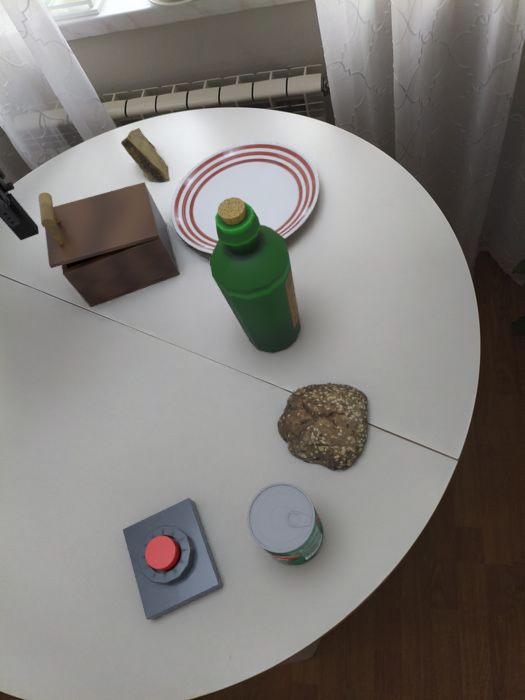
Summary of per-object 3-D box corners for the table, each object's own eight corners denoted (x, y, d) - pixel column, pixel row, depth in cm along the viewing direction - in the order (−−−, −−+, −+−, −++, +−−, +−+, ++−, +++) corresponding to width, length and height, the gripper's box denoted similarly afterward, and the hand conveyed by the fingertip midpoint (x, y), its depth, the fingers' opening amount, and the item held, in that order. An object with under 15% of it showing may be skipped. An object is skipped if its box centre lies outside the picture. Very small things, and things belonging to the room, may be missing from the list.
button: (146, 546, 72) (141, 543, 70) (174, 532, 72) (169, 530, 71) (155, 576, 70) (150, 574, 68) (183, 562, 70) (179, 560, 69)
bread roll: (376, 394, 80) (376, 379, 75) (358, 476, 74) (357, 466, 70) (291, 378, 83) (286, 363, 79) (269, 456, 78) (262, 444, 74)
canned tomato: (259, 561, 72) (240, 546, 62) (270, 500, 75) (253, 478, 66) (320, 571, 70) (309, 558, 60) (328, 508, 73) (319, 486, 64)
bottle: (320, 317, 88) (294, 189, 64) (283, 370, 84) (241, 257, 60) (265, 292, 92) (221, 164, 68) (228, 342, 89) (169, 225, 65)
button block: (128, 532, 77) (116, 526, 74) (194, 501, 77) (185, 494, 74) (152, 620, 71) (140, 618, 67) (223, 586, 71) (215, 582, 68)
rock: (128, 138, 115) (111, 168, 109) (140, 106, 108) (122, 136, 102) (176, 164, 117) (162, 195, 112) (190, 135, 111) (175, 166, 105)
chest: (91, 307, 98) (62, 274, 89) (82, 254, 104) (55, 219, 96) (179, 274, 97) (159, 238, 89) (165, 224, 104) (146, 185, 96)
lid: (51, 268, 88) (32, 239, 82) (44, 213, 94) (26, 182, 88) (159, 238, 89) (148, 207, 83) (145, 185, 95) (134, 153, 90)
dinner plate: (147, 216, 106) (141, 204, 103) (252, 133, 111) (248, 119, 108) (239, 293, 93) (235, 281, 90) (353, 194, 98) (352, 181, 96)
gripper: (-67, 107, 54) (59, 257, 74) (-65, 37, 60) (50, 192, 81) (-138, 135, 54) (6, 277, 74) (-128, 62, 60) (2, 211, 81)
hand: (29, 233), depth 77 cm, fingers closed
